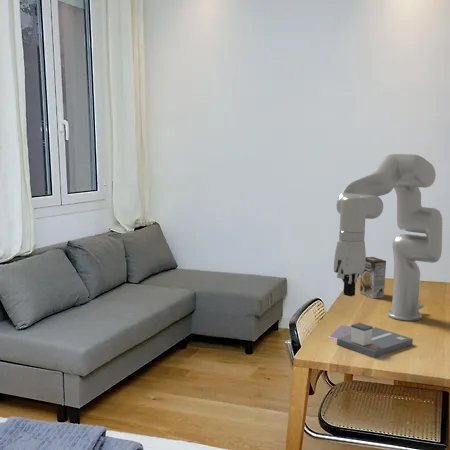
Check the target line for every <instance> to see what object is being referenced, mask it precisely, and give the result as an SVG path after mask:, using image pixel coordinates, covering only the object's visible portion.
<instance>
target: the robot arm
mask: <svg viewBox="0 0 450 450" xmlns="http://www.w3.org/2000/svg"><path fill="white" fill-rule="evenodd" d="M436 176H437V175H436V169H435V166H433V164H432V163H431V162H429V160H427V159H426V158H425V157H422V156H421V155H419V154H407V153H406V154H404V153H401V154H400V153H391V154H387V155H386V156H384V157H383V158H382V160H381V161H380V163H379V164H378V165H377V166H376V167H375V169H374V170H372V172H371V174H368V175H365V176H362V177H361V178H358V179H357V180H354V181H351V182H350V183H349V184H347V185H346V186H345V188H344V189H343V190H342V191H341V192H340V194H339V196H338V198H337V200H336V211H337V213H338V214H339V234H338V235H339V239H338V241H337V242H336V245H335V246H336V247H335V252H334V253H335V254H334V258H333V259H334V262H333V272H334V273H336V274H337V275H336V278H338V279H339V280H340V279H341V280H342V283H343V295H345V296H347V297H350V298H351V297H354V296H355V295H356V283H357V282H358V278H359V277H361V275H362V274H363V271H364V270H365V263H366V257H367V254H366V243H365V234H366V233H365V232H366V231H365V229H366V219H368V220H369V219H370V220H374V219H377V218H378V217H379V216H381V214H382V213H383V211H384V203H383V200H382V199H381V196H385V195H388V194H389V193H390V192H392V190H393V189H394V191H395V193H396V224H397V227H398V229H399V230H401V231H403V232H408V233H403V234H402V233H401V234H398V235H397V236H395V237H394V238H393V242H392V253H393V266H394V267H393V280H392V281H393V284H392V285H393V286H392V302H391V303H392V304H391V309H389V310H388V311H387V316H388V317H390V318H392V319H395V320H399V321H405V322H406V321H407V322H409V321H410V322H412V321H418V320H421V319H423V315H422V313H421V312H419V311H420V310H421V309H424V307H425V305H424V303H419V302H420V301H419V297H420V295H419V294H420V280H421V271H420V268H419V266H418V264H417V262H423V263H429V264H430V263H431V264H433V263H438V261H440V260H441V257H442V252H443V251H442V248H443V216H442V214H441V212H440V210H439V209H437V208H434V207H425V206H423V205H422V192H421V190H420V188H425V189H426V188H429V187H432V185H433V184H434V182H435V180H436ZM409 232H410V233H409ZM411 233H418V234H411ZM419 234H425V235H419Z"/></svg>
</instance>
